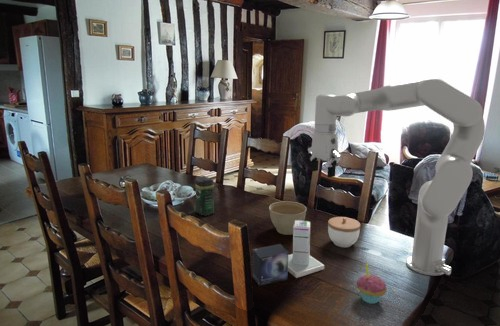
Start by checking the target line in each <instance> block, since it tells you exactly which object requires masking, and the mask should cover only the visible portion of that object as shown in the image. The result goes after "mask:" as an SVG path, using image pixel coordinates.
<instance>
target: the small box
mask: <svg viewBox="0 0 500 326" xmlns="http://www.w3.org/2000/svg"><path fill="white" fill-rule="evenodd" d="M289 253H290V252H289V250H287V249H286V248H285V247H284V246H283V245H282V244H281V243H277V244H273V245H272V244H271V245H268V246H262V247H258V248H257V247H256V248H253V249H252V275H251V277H252V278H253V280H254V281H255V283H256V284H257V285H258V286H259V287H262V286H265V285H269V284H274V283H279V282H283V281H287V280H288V275H289V274H288V273H289V272H288V255H290V254H289Z"/></svg>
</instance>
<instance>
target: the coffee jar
mask: <svg viewBox="0 0 500 326" xmlns="http://www.w3.org/2000/svg"><path fill="white" fill-rule="evenodd" d="M194 186H195V187H194V188H195V213H197V214H198V213H199V214H198V215H200V214H201V215H200V216H202V215H204V216H207V215H208V214H211V215H212V213H213V214H214V213H215V206H214V205H215V202H214V186H215V184H214V180H213V178H210V177H207V176H206V175H200V176H196V178H195V179H194ZM208 216H209V215H208Z"/></svg>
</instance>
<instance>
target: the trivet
mask: <svg viewBox="0 0 500 326" xmlns="http://www.w3.org/2000/svg"><path fill="white" fill-rule="evenodd" d="M323 270H325V264H323V263H322V262H321V261H319V260H318V259H316V258H315V257H313V256H312V255H311V254H310V255H309V265H308V266H305V265H296V264H293V253H291V254H288V273H289V274H291V275H292V276H293V277H295V278H296V279H298V278H301V277H304V276H307V275H311V274H313V273H316V272H319V271H320V272H321V271H323Z"/></svg>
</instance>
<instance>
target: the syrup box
mask: <svg viewBox="0 0 500 326" xmlns="http://www.w3.org/2000/svg"><path fill="white" fill-rule="evenodd" d="M310 248H311V221H309V220H304V221H301V220H297V221H296V220H295V222H294V226H293V234H292V254H293V264H296V265H305V266H308V265H309V255H310V256H311V254H310V250H311V249H310Z"/></svg>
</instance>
